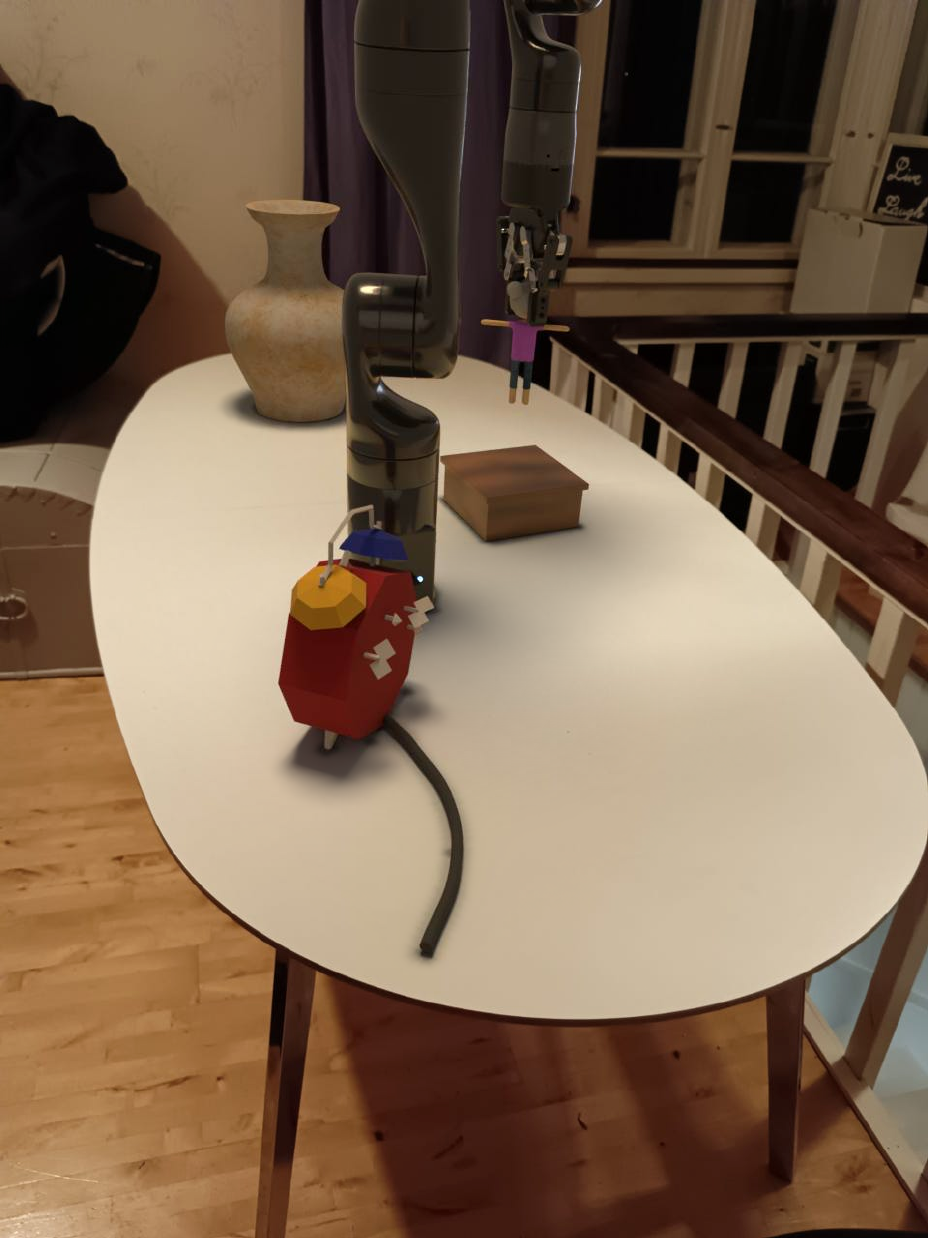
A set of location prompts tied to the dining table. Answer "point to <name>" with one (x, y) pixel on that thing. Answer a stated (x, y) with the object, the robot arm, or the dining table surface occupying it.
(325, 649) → the alarm clock
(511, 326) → the toy
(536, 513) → the wooden stand
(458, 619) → the dining table surface
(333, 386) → the vase
